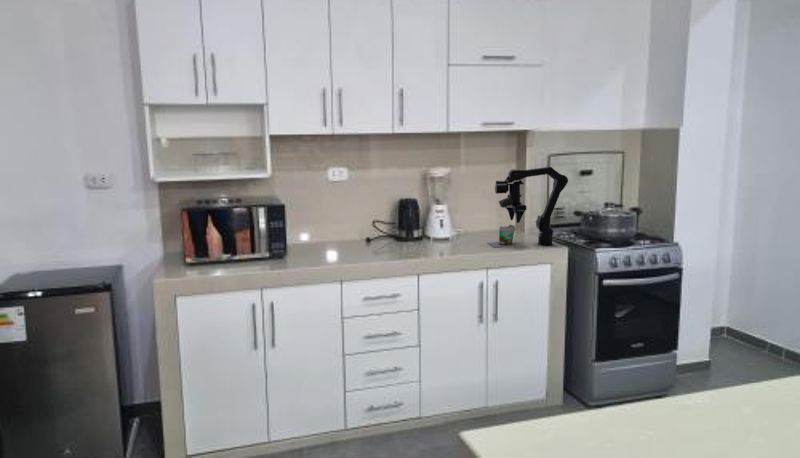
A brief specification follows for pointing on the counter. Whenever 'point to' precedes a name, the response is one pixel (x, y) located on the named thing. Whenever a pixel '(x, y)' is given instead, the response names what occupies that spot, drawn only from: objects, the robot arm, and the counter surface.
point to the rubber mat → (495, 244)
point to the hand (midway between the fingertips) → (514, 221)
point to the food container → (506, 235)
